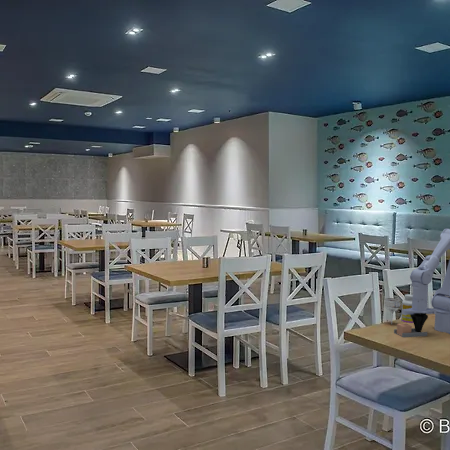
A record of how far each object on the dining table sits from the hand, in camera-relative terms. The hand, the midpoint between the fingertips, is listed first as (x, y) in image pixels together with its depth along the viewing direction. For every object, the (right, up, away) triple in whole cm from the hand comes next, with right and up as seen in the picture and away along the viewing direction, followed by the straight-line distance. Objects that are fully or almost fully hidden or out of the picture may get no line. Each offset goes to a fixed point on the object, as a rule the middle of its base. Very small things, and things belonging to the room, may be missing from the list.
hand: (418, 331), depth 206 cm
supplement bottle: (+4, -1, +22) cm, 22 cm away
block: (-6, -1, -1) cm, 7 cm away
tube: (-3, -2, -1) cm, 4 cm away
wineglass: (-6, -1, +15) cm, 17 cm away
